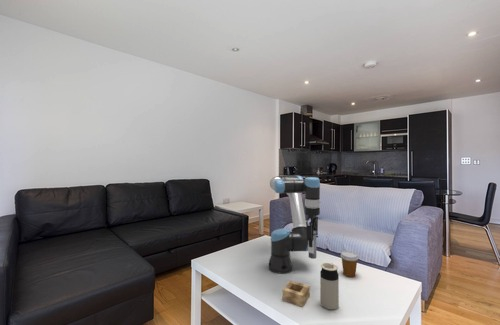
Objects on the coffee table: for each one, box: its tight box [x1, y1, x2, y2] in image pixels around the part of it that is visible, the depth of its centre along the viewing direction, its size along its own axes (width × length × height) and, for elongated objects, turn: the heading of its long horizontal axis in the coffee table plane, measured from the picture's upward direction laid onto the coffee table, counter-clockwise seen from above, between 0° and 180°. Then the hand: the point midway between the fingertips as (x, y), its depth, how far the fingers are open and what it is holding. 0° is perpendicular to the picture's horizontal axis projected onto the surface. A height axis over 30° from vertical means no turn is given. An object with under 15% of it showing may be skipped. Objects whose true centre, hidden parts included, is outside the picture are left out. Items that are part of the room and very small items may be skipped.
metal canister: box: [308, 230, 317, 259], centre depth 121 cm, size 4×4×14 cm
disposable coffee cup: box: [340, 251, 359, 278], centre depth 135 cm, size 10×10×12 cm
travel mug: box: [319, 262, 340, 310], centre depth 107 cm, size 8×8×18 cm
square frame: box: [282, 280, 311, 308], centre depth 112 cm, size 10×10×5 cm
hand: (312, 251), depth 121 cm, fingers closed on metal canister, 4 cm apart
